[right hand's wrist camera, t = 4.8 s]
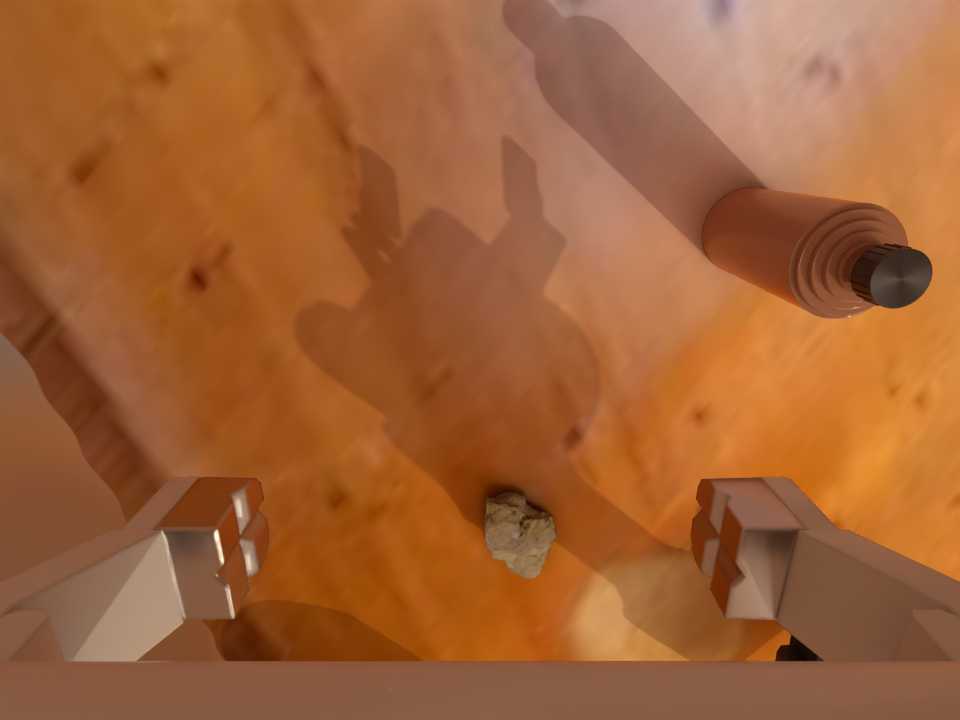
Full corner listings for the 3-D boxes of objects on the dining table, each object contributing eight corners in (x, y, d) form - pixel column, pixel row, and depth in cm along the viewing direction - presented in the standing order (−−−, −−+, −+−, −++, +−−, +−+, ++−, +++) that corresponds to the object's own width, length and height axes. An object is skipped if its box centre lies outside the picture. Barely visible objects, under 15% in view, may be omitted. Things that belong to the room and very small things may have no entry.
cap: (850, 308, 38) (871, 317, 36) (846, 253, 37) (866, 259, 35) (910, 291, 37) (934, 299, 35) (907, 234, 36) (932, 239, 34)
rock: (533, 562, 71) (574, 511, 67) (533, 604, 66) (577, 552, 61) (457, 529, 70) (493, 475, 65) (450, 570, 64) (489, 514, 60)
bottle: (709, 282, 58) (835, 355, 37) (695, 203, 55) (823, 234, 34) (790, 258, 57) (966, 319, 36) (780, 175, 54) (964, 191, 34)
